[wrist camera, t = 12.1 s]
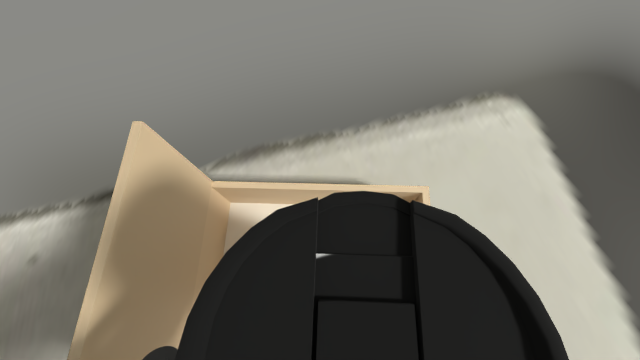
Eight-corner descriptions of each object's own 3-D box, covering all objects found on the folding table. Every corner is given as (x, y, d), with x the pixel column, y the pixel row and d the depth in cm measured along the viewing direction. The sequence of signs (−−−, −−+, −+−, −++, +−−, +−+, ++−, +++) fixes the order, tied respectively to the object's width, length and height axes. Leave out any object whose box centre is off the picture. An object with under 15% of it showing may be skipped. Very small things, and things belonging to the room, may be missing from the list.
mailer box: (195, 417, 22) (-4, 614, 9) (227, 198, 28) (132, 121, 15) (426, 432, 21) (580, 672, 8) (411, 203, 27) (488, 126, 14)
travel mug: (295, 351, 22) (64, 776, 3) (301, 258, 24) (189, 161, 5) (381, 356, 21) (738, 861, 3) (379, 261, 24) (565, 170, 5)
